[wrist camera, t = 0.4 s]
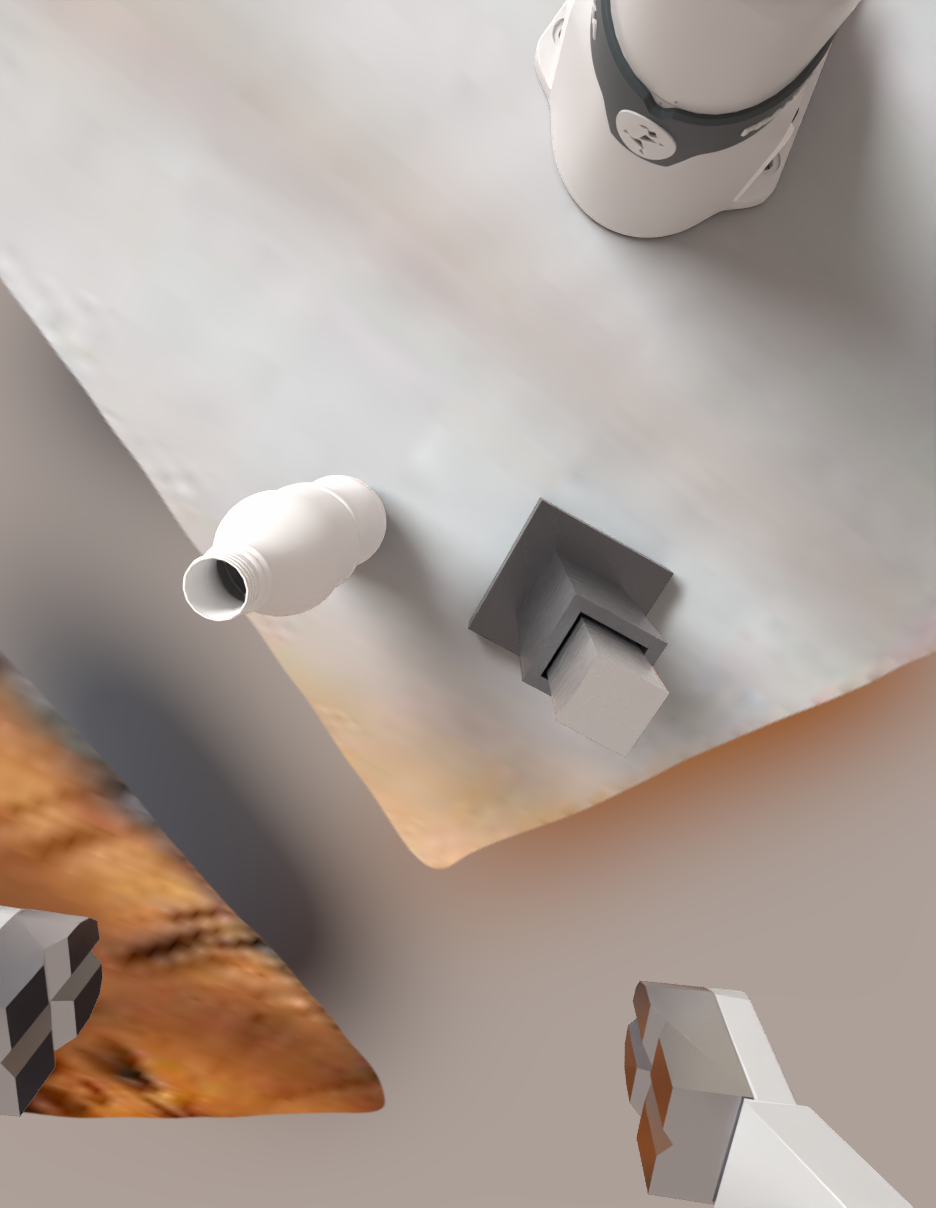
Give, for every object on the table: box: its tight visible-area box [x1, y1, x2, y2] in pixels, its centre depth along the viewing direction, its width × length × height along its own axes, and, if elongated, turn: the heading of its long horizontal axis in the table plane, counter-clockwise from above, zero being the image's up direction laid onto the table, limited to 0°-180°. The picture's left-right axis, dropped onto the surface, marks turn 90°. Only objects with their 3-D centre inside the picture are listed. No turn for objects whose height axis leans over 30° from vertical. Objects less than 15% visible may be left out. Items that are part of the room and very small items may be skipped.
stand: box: [468, 497, 673, 696], centre depth 44 cm, size 12×12×17 cm
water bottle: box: [183, 475, 387, 621], centre depth 39 cm, size 7×7×25 cm
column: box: [546, 612, 669, 757], centre depth 40 cm, size 4×4×20 cm
